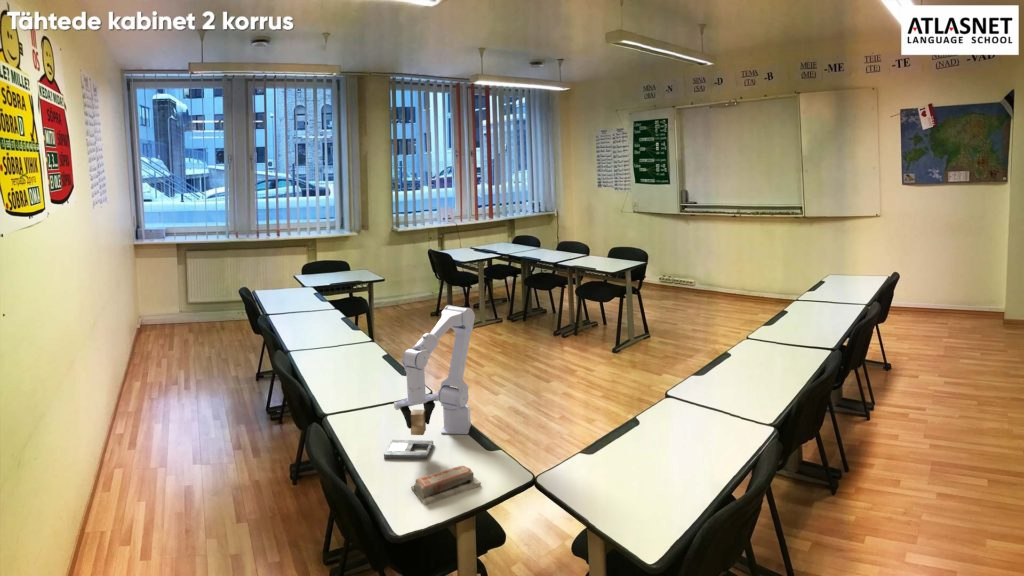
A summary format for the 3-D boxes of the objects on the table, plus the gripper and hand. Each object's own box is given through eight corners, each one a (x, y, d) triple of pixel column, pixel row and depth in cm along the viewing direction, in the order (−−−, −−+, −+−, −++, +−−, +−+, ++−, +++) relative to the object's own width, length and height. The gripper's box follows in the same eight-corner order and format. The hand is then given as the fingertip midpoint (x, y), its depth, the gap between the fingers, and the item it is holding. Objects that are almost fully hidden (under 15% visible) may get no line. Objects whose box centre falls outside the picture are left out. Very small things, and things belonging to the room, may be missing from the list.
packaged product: (424, 491, 164) (410, 475, 172) (424, 506, 165) (410, 490, 173) (481, 472, 173) (465, 458, 182) (481, 487, 174) (465, 472, 183)
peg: (425, 429, 195) (424, 409, 194) (423, 435, 191) (422, 414, 190) (413, 429, 196) (412, 409, 194) (411, 434, 192) (409, 414, 190)
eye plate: (433, 444, 200) (433, 440, 199) (427, 459, 190) (426, 455, 189) (392, 443, 201) (392, 439, 200) (384, 458, 191) (383, 454, 191)
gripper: (432, 377, 197) (434, 415, 200) (390, 386, 190) (392, 425, 193) (440, 384, 191) (442, 423, 194) (397, 393, 184) (399, 434, 187)
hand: (418, 425), depth 193 cm, fingers closed on peg, 5 cm apart
